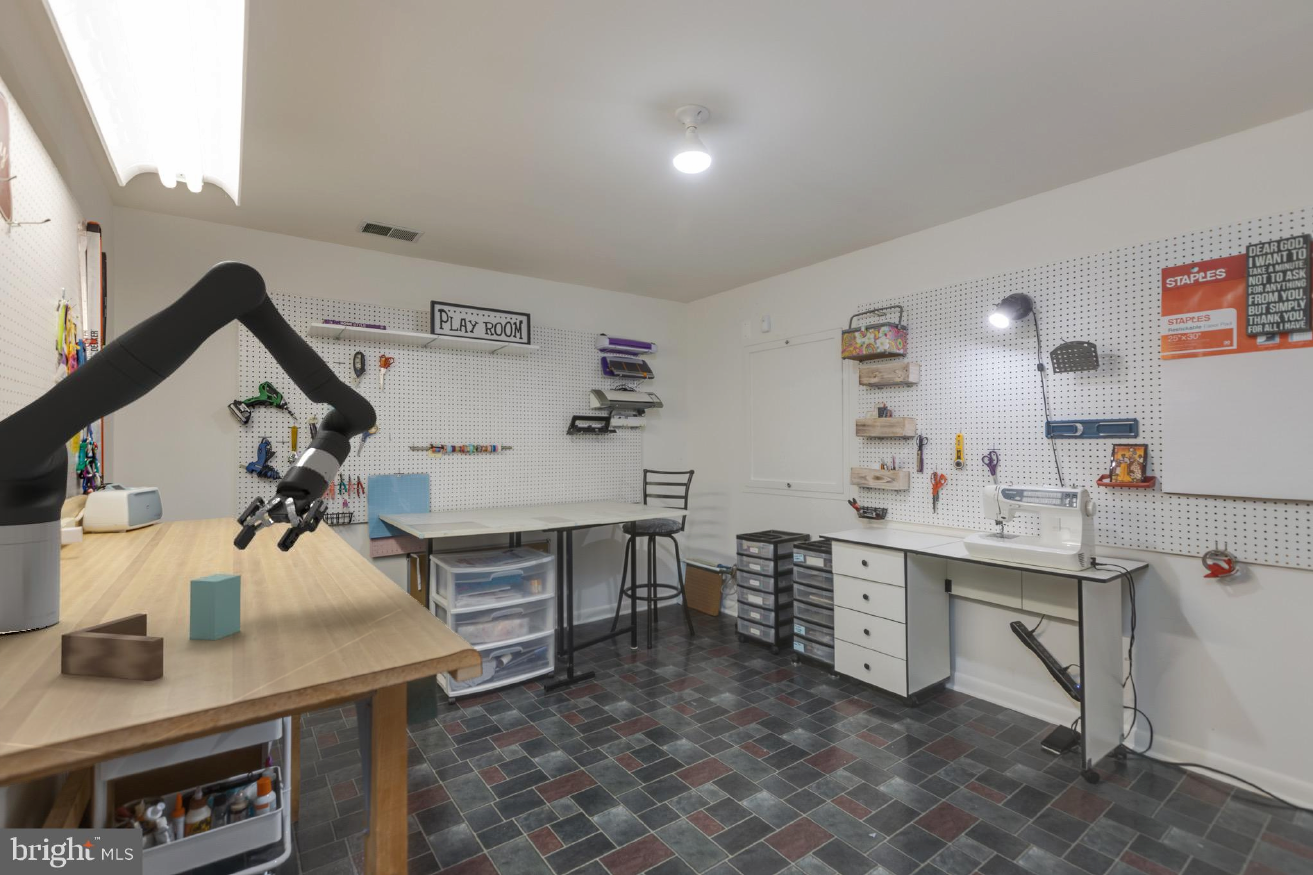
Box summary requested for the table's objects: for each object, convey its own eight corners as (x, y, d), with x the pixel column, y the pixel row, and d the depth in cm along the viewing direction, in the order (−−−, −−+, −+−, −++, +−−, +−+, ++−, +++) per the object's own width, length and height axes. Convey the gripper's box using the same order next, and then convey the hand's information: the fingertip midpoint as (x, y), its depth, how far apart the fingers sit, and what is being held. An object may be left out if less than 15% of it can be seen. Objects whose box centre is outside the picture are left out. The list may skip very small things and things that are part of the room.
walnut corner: (61, 672, 77) (61, 634, 77) (137, 647, 87) (138, 613, 87) (151, 680, 75) (151, 641, 75) (220, 653, 85) (220, 618, 85)
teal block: (189, 638, 91) (190, 580, 91) (215, 629, 95) (216, 573, 95) (214, 640, 90) (215, 581, 90) (240, 630, 95) (240, 575, 95)
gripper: (265, 464, 111) (210, 534, 100) (333, 464, 109) (284, 536, 97) (287, 489, 116) (236, 559, 105) (352, 491, 114) (308, 562, 103)
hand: (259, 548), depth 101 cm, fingers open, 8 cm apart
